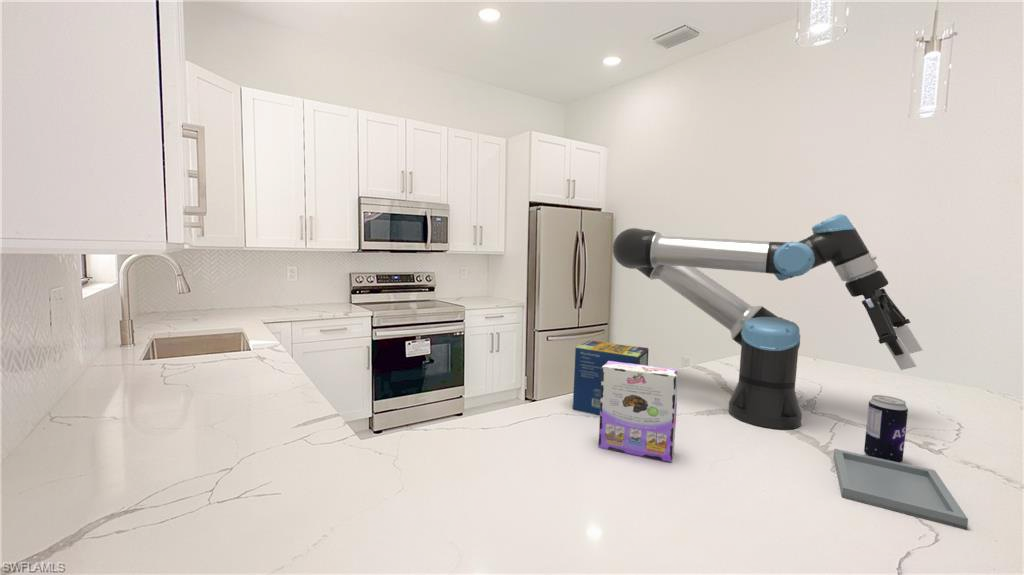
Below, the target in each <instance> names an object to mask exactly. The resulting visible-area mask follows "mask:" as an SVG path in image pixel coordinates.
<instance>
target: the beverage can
mask: <svg viewBox="0 0 1024 575" xmlns="http://www.w3.org/2000/svg"><path fill="white" fill-rule="evenodd" d="M867 409H868V410H867V416H866V417H867V418H866V430H865V437H864V438H865V439H864V449H863V452H864V453H865V455H866V456H871V457H876V458H880V459H885V460H890V461H894V462H899V463H903V459H904V453H905V452H904V451H905V441H906V432H907V424H908V423H907V422H908V414H909V409H908V407H907V402H906V401H905V400H903V399H901V398H898V397H894V396H889V395H884V394H882V395H881V394H874V395H872V396H871V398H870V400H869V402H868V407H867Z"/></svg>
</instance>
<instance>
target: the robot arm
mask: <svg viewBox="0 0 1024 575" xmlns="http://www.w3.org/2000/svg"><path fill="white" fill-rule="evenodd" d="M811 231H812V235H810V236H807V238H803V239H802V240H798V241H789V242H788V241H768V240H767V241H766V240H749V239H748V240H747V239H746V240H745V239H744V240H743V239H727V238H726V239H725V238H709V237H708V238H707V237H706V238H705V237H685V236H684V237H683V236H667V235H666V236H665V235H662V233H661V232H659V231H654V230H652V229H643V228H637V227H636V228H635V227H633V228H628V229H625V230H623V231H621V232H620V233H619V234H618V235H617V236H616V237H615V239H614V241H613V244H612V255H613V257H614V259H615V261H616V262H617V263H618V264H619V265H620V266H622V267H623V268H627V269H630V270H631V269H632V270H633V269H635V270H638V271H639V272H640V273H642V274H643V275H644V276H646V278H648V279H650V280H653V281H654V280H660V281H661V282H663V283H664V284H665V285H667V286H668V287H669V288H671V289H673V291H675V292H677V293H678V294H679V295H681V296H682V297H683V298H685V299H686V300H688V302H690V303H691V304H693V305H694V306H695V307H697V308H699V309H700V310H701V311H703V313H706V314H707V315H708V316H709V317H711V318H712V319H713V320H715V321H716V322H717V323H720V325H722V326H724V327H725V328H726V330H729V331H730V335H731V340H733V341H734V342H735V343H737V344H738V345H740V346H741V347H740V348H741V349H740V359H739V362H740V363H739V370H738V372H739V373H738V374H739V375H738V382H737V384H736V387H735V389H734V391H733V393H732V395H731V397H730V398H729V401H728V402H729V403H728V412H729V414H730V415H731V416H732V417H734V418H736V419H738V420H740V421H741V422H745V423H748V424H751V425H755V426H758V427H759V426H760V427H763V428H768V429H770V428H771V429H777V430H791V429H797V428H800V426H801V425H802V417H803V415H802V411H801V407H800V403H799V400H798V396H797V393H796V381H797V379H796V378H797V368H798V357H799V356H798V355H799V349H800V346H801V333H800V327H799V326H798V325H799V324H797V323H795V322H794V321H791V320H789V319H785V318H783V317H779V316H778V315H776V314H774V313H773V312H771V311H770V310H768V309H767V308H766V307H764V306H762V305H757V306H754V305H751V304H750V303H748V302H746V301H745V300H743V299H742V298H740V297H739V296H738V295H736V294H734V293H733V292H731V290H729V289H727V288H726V287H724V286H723V285H722V284H720V283H719V282H717V281H716V280H714V279H713V278H711V277H710V276H708V275H707V274H705V273H704V272H702V271H701V270H700V268H701V269H713V270H724V271H737V272H751V273H760V274H768V275H769V274H772V275H774V276H775V278H776V279H777V280H778V281H786V280H788V279H792V278H795V277H800V276H803V275H805V274H806V273H808V272H810V271H811V270H813V269H815V268H817V267H819V266H821V265H825V264H827V263H829V262H830V263H831V264H832V265H833V268H834V269H835V271H836V273H837V274H838V277H839V278H840V280H841V281H842V282H845V285H844V286H845V287H846V288H845V289H847V291H848V293H849V295H850V296H851V297H854V298H856V297H859V296H860V297H861V296H863V298H864V300H861V304H862V305H863V306H864V308H865V311H866V312H867V315H868V317H869V318H870V321H871V323H872V326H873V328H874V330H875V332H876V334H877V337H878V340H877V341H878V343H879V345H880V344H881V345H882V344H885V346H886V348H887V349H888V350H889V353H890V355H891V356H892V358H893V359H894V360H895V362H896V364H897V365H898V367H899V369H900V370H901V371H903V370H908V369H911V368H912V369H913V368H916V367H917V364H916V362H915V361H914V359H913V358H912V356H911V354H914V353H917V352H922V351H923V350H924V349H923V347H921V344H920V343H919V341H918V340H917V338H916V336H915V334H914V333H913V332H912V330H911V329H910V326H908V324H911V321H910V319H909V318H906V316H904V314H903V313H902V312H901V310H900V309H899V308H898V306H897V305H896V304H895V303H894V301H893V300H892V299H891V297H890V296H889V294H888V293H887V292H886V290H885V288H886V286H887V285H889V281H888V279H887V278H886V276H885V274H884V273H883V272H882V270H880V269H879V265H878V264H877V262H876V260H877V256H876V255H872V254H871V253H870V250H869V249H868V247H867V245H866V244H865V242H864V241H863V239H862V237H861V236H860V234H859V233H858V231H857V229H856V227H854V225H853V224H852V222H851V220H850V219H849V218H848V216H847V215H845V214H843V213H840V214H836V215H834V216H832V217H828V218H827V219H825V220H822V221H821V222H818V223H817V224H814V225H813V226H812V227H811ZM698 268H699V269H698ZM877 269H879V270H877Z"/></svg>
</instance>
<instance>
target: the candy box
mask: <svg viewBox="0 0 1024 575" xmlns="http://www.w3.org/2000/svg"><path fill="white" fill-rule="evenodd" d="M678 378H679V369H678V368H677V369H676V368H669V367H661V366H654V365H653V366H651V365H648V366H646V365H638V364H630V363H622V362H614V361H608V362H607V363H606V364H605V365H604V366H602V375H601V399H600V415H599V428H598V444H597V447H598V448H599V449H606V450H609V451H615V452H618V453H619V452H620V453H625V454H628V455H629V454H630V455H633V456H639V457H643V458H644V457H645V458H649V459H655V460H659V461H664V462H669V463H672V461H673V457H674V452H675V439H676V438H675V436H676V423H677V405H678Z"/></svg>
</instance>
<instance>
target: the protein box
mask: <svg viewBox="0 0 1024 575" xmlns="http://www.w3.org/2000/svg"><path fill="white" fill-rule="evenodd" d="M574 348H575V350H574V353H575V354H574V370H573V371H574V372H573V373H574V374H573V395H572V396H573V398H572V410H575V411H579V412H583V413H588V414H593V415H597V416H600V399H601V375H602V366H604V365H605V364H606V363H607V362H608V361H614V362H622V363H630V364H638V365H646V366H649V352H650V351H649V348H648V347H642V346H634V345H627V344H618V343H614V342H613V343H612V342H611V343H610V342H605V341H596V340H589V341H586V342H584V343H582V344H579V345H577V346H575V347H574Z"/></svg>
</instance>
